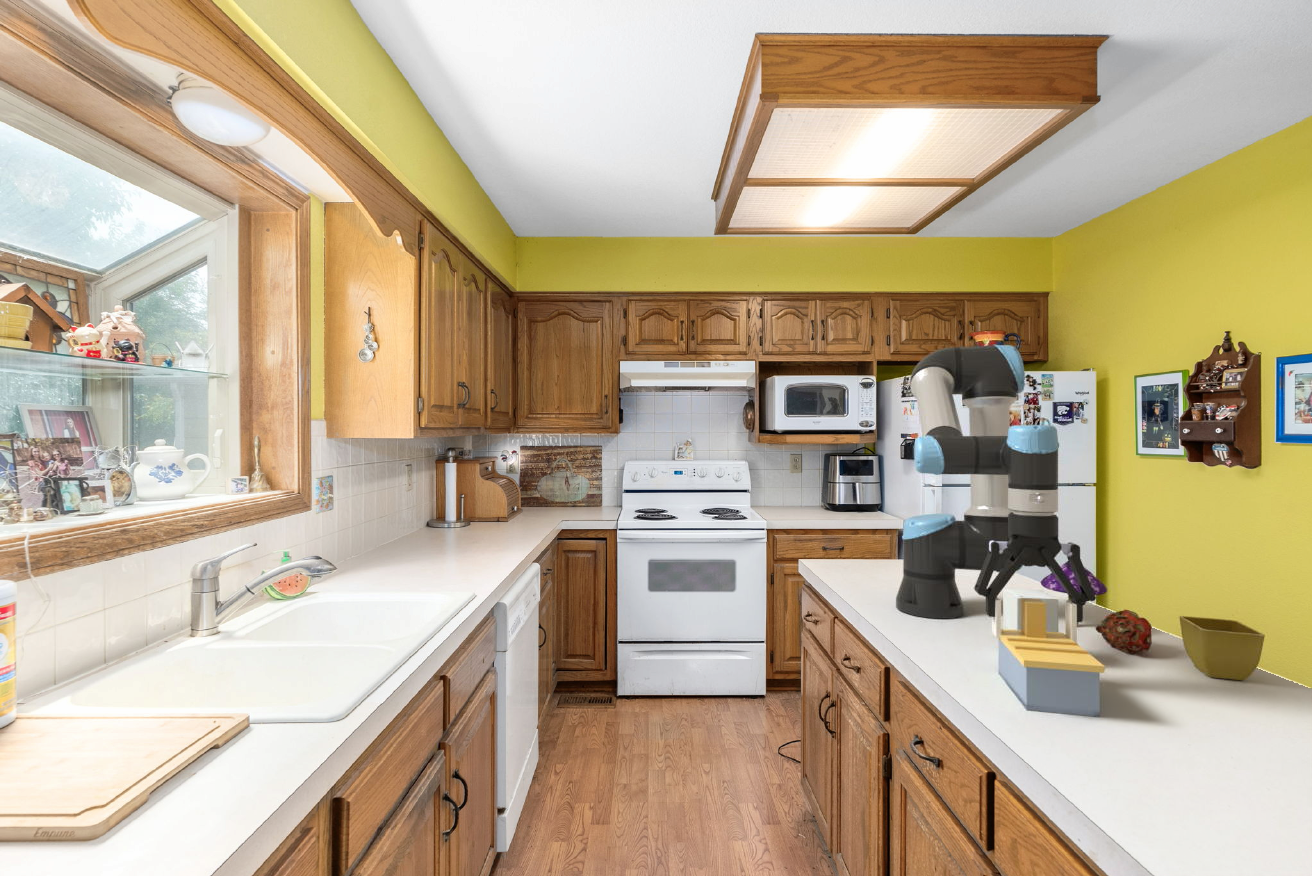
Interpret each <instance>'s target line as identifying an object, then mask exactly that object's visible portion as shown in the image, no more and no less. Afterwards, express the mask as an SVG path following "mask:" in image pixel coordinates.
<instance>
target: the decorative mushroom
mask: <svg viewBox="0 0 1312 876" xmlns="http://www.w3.org/2000/svg"><path fill="white" fill-rule="evenodd" d="M1060 567H1061V569H1062V571H1063V572H1064V573H1065V575H1066V576H1067V577H1068V579H1069V580H1070V582H1071V583H1072V584H1073V586H1074V587H1075V588H1076V590H1077V591H1078V593H1081V591H1080V588H1079V586H1078V583H1077V581H1076V578H1075V576H1074V574H1073V571H1072V569H1071V566H1070V564H1069V561H1068V560H1067V561H1065V562H1064V563H1063V564H1061V565H1060ZM1084 569H1085V571H1086V574H1087V576H1088V579H1089V581H1090V584H1091V586H1092V589H1093V591H1094V594H1095V596H1100V595H1101V596H1102V595H1104V594H1106V593H1107V592H1108V588H1107V587H1106V585H1105V584H1104V583H1103V582H1102V581H1100V580H1099V579H1098V578H1097V577H1096V576H1095V575H1094V574H1093V573H1092V572H1091V571H1090V570H1089V569H1088V568H1086V567H1085V566H1084ZM1040 584H1041V586H1042V587H1043V588H1045V589H1047V590H1051V591H1053V592H1058V593H1063V594H1067V593H1066V591H1065V590H1064V589H1063V587H1062V586H1061V585H1060V583H1059V582H1058V580H1057V579H1056V578H1055V576H1054V575H1053V574H1052V572H1051V573H1050V574H1048V575H1046V576H1044V577H1043V579H1042V580H1041V581H1040ZM1067 599H1068V601H1071V598H1070V597H1069V596H1068V595H1067ZM1079 623H1080V622H1077V626H1078V625H1079Z"/></svg>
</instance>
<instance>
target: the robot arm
mask: <svg viewBox="0 0 1312 876" xmlns="http://www.w3.org/2000/svg"><path fill="white" fill-rule="evenodd" d="M1023 361H1024V360H1023V358H1022V355H1021V354H1020V351H1019V350H1018V349H1017V348H1016V347H1015V346H1014V345H1009V344H1008V345H1007V344H1003V345H1002V344H1001V345H1000V344H999V345H998V344H990V345H989V344H987V345H974V346H973V345H972V346H971V345H970V346H955V347H953V346H952V347H945V348H940V349H937V350H935V351H932V352H930V353H929V354H927V355H926V356H925V357H923V358H922V359H921V360H920V361H919V362H917V364H916V365H915V367H914V368H913V370H912V372H911V375H910V379H909V387H910V392H911V394H912V396H913V397H914V398H915V399H916V403H917V409H918V415H919V422H920V429H921V436H917V437H916V438H915V441H914V448H913V449H914V450H913V452H914V453H913V454H914V457H913V458H914V467H915V470H916V472H918V473H920V474H929V475H935V476H939V475H970V507H969V508H968V509H967V510H965V511H964V512H963V520H957V519H956V517H955V515H954V514H952V513H929V514H921V515H915V516H911V517H908V518H907V519H906V520H904V523H903V530H902V536H901V538H902V540H903V544H902V545H903V549H902V550H903V551H902V552H903V556H902V557H903V567H902V568H903V569H902V570H903V571H902V572H903V573H902V575H903V576H902V580H901V582H900V585H899V587H898V590H897V594H896V597H895V608H896V609H897V610H898V611H901V612H902V613H905V614H908V615H911V616H916V617H921V618H928V619H955V618H958V617H961V616H963V615H964V603H963V600H962V597H961V594H960V592H959V588H958V586H957V583H956V570H967V571H968V570H969V571H980V572H979V574H978V577H977V579H976V583H975V585H974V591H975V592H976V593H977V594H978V595H979V596H983V597H985V613H986V616H988V617H989V618H991V633H992V634H993V636H995V638H998V637H1000V638H1001V629H1002V600H1001V599H1000V598H999V597H998V595H999V594H1001V592H1002V591H1003V589H1005V586H1006V585H1007V584H1008V582H1009V581H1010V580H1011V579H1012V577H1014V574H1015V573H1016V572H1018V571H1019V570H1021V569H1022V568H1023V566H1024V567H1035V566H1036V567H1039V568H1046V567H1047V568H1048V569H1049V570H1050V571H1049V572H1051V573H1052V574H1053V575H1054V576H1055V578H1056V579H1057V580H1058V582H1059V583H1060V585H1061V586H1062V587H1063V589H1064V590H1065V591H1066V593H1065V594H1067V597H1068V596H1069V597H1070V598H1071V601H1068V600H1065V603H1064V604H1065V606H1064V607H1065V609H1064V610H1065V616H1064V617H1065V635H1066V636H1068V637H1069V638H1070V639H1071V640H1073V641H1074V642H1076V643H1077V644H1078V636H1077V635H1078V628H1077V627H1078V625H1077V622H1079V623H1082V622H1083V619H1084V617H1083V615H1084V608H1083V606H1085V605H1086V604H1087V602H1094V601H1096V599H1097V597H1096V596H1097V595H1095V594H1094V591H1093V589H1092V586H1091V584H1090V581H1089V579H1088V576H1087V574H1086V571H1085V569H1084V567H1085V566H1084V564H1083V562H1082V559H1081V546H1080V545H1078V544H1077V543H1074V542H1068V543H1061V542H1060V540H1059V517H1058V516H1057V514H1055V513H1058V511H1059V447H1060V443H1059V438H1058V428H1057V427H1056V426H1054V425H1052V424H1032V425H1031V424H1025V425H1023V424H1022V425H1021V424H1019V425H1018V424H1017V425H1016V424H1015V425H1011V423H1010V422H1011V419H1010V408H1011V406H1012V405H1013V404H1014V403H1015V402H1016V401H1017V398H1018V397H1017V395H1018V394H1020V393H1022V392H1023V391H1024V389H1025V385H1026V384H1025V379H1026V373H1025V367H1024V362H1023ZM954 395H960V396H961V402H962V403H963V405H965V407H967V408H968V411H969V413H968V414H969V415H968V416H969V421H968V422H969V435H964V434H963V431H962V430H963V429H962V426H961V422H960V418H959V415H958V411H957V407H956V402H955V399H954ZM1061 551H1062V553H1063V554H1064V555H1065V556H1066V558H1067V561H1069V564H1070V566H1071V569H1072V571H1073V574H1074V576H1075V578H1076V581H1077V583H1078V586H1079V588H1080V591H1081V593H1078V591H1077V590H1076V588H1075V587H1074V586H1073V584H1072V583H1071V582H1070V580H1069V579H1068V577H1067V576H1066V575H1065V573H1064V572H1063V571H1062V569H1061V567H1060V566H1061V565H1060V564H1059V563H1058V562H1057V560H1056V559H1055V558H1056V557H1057V555H1058V554H1060V552H1061ZM994 572H995V573H998V574H997V575H996V577H995V578H994V579H993V580H992V582H991V583H990V581H991V578H992V575H993V573H994Z"/></svg>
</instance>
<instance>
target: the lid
mask: <svg viewBox="0 0 1312 876" xmlns="http://www.w3.org/2000/svg"><path fill="white" fill-rule="evenodd" d="M997 638H999V639H1000V640H1001V642H1002V643H1003V644H1004V645H1005V646H1006V647H1007V648H1008V649H1009V650H1010V652H1011V653H1012V654H1013V655H1014V656H1015V657H1016V658H1017V659H1018V661H1019V662H1020V663H1021V664H1022V665H1023V666H1024V667H1036V668H1048V669H1061V670H1074V671H1087V672H1100V674H1101V673H1102V674H1105V673H1106V671H1105V670H1106V666H1105V665H1104V664H1103V663H1101V662H1100V661H1099V660H1098V659H1096V658H1095V657H1094V656H1093V655H1092V654H1090V653H1089V651H1087V650H1086V649H1084V648H1083V647H1081V645H1079V644H1078V642H1077V643H1076V642H1074V641H1073V640H1071V639H1070V638H1069V637H1068V636H1066V633H1064V632H1059V631H1058V632H1046V604H1045V603H1044V602H1043V601H1041V600H1040V599H1027V598H1021V630H1013V629H1003V628H1001V638H1000V637H997Z"/></svg>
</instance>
